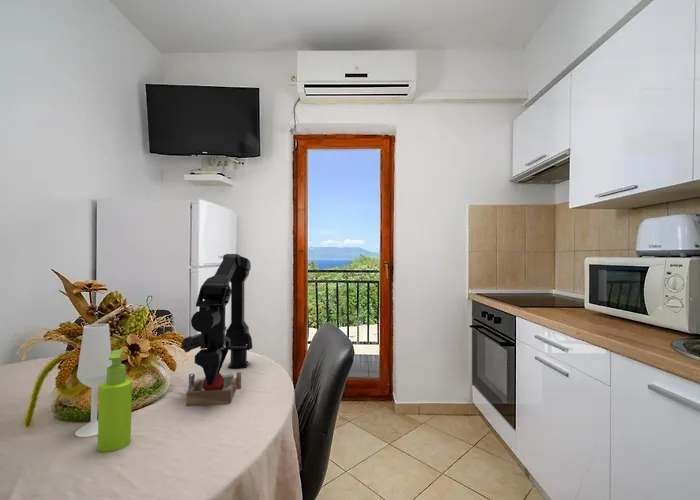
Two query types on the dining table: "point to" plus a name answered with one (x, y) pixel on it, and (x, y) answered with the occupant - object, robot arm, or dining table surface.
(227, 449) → the dining table surface
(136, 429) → the dining table surface
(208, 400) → the brown u-shaped frame
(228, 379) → the leg bar
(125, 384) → the soap dispenser
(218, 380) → the pomegranate
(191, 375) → the pin
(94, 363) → the champagne flute
